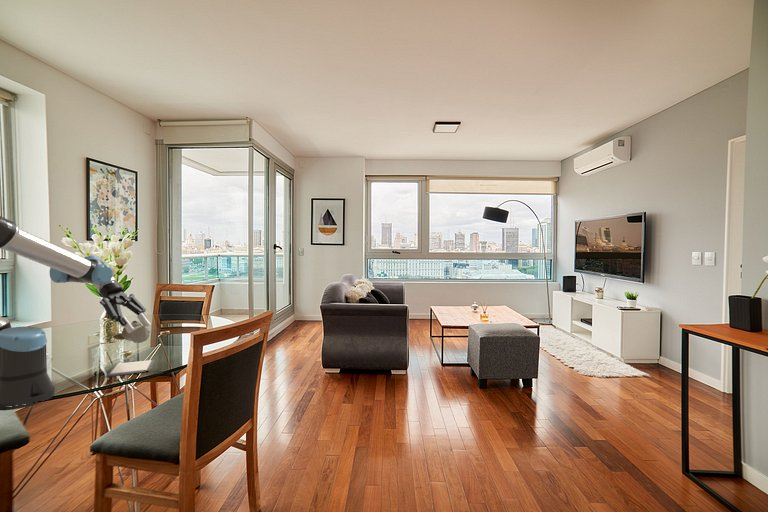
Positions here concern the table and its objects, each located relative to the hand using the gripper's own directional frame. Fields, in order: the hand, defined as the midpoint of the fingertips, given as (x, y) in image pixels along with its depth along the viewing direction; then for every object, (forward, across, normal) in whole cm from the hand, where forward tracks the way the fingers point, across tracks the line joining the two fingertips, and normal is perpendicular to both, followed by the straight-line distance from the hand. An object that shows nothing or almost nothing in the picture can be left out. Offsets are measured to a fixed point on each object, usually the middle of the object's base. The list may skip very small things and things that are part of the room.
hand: (140, 328), depth 151 cm
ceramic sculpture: (+1, -1, -7) cm, 7 cm away
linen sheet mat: (+10, +2, -13) cm, 17 cm away
